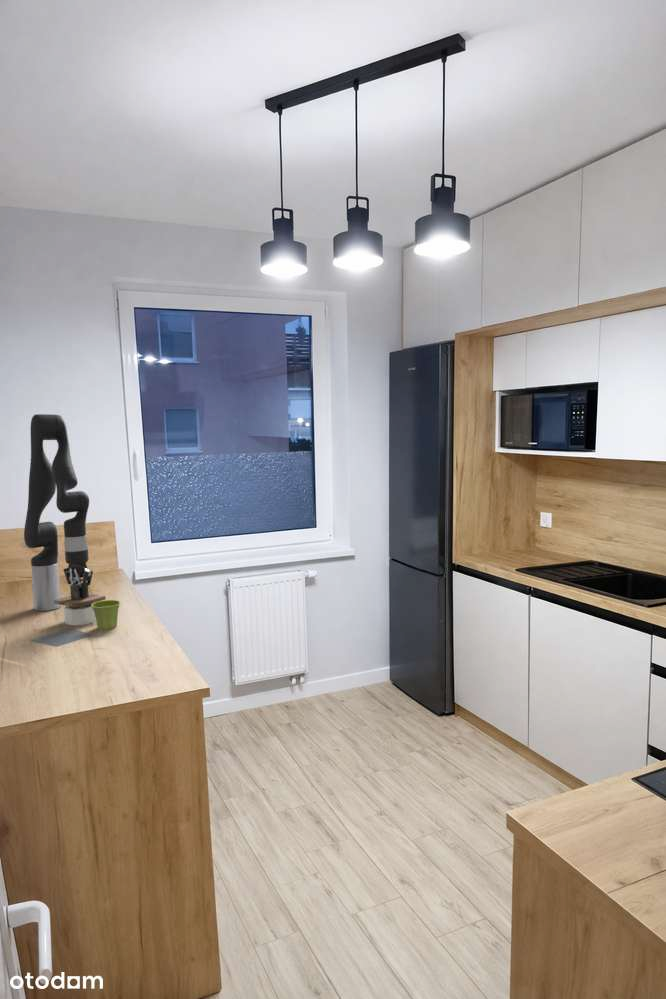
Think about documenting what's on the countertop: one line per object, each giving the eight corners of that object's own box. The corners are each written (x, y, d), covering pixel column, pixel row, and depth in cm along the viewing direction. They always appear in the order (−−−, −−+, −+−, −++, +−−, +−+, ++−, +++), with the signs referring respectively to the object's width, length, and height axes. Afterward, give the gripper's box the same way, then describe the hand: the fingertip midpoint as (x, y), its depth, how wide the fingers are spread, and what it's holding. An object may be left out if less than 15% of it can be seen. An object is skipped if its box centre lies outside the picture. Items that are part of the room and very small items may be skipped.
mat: (30, 641, 209) (30, 640, 209) (68, 629, 221) (68, 628, 221) (56, 648, 202) (56, 646, 202) (95, 635, 213) (94, 634, 213)
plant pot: (128, 625, 224) (126, 601, 223) (107, 633, 215) (106, 608, 214) (107, 623, 227) (105, 599, 227) (86, 631, 219) (84, 605, 218)
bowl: (60, 624, 228) (59, 607, 228) (85, 616, 237) (83, 600, 236) (78, 627, 223) (76, 610, 222) (102, 620, 231) (101, 603, 231)
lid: (54, 603, 227) (53, 586, 227) (84, 595, 237) (83, 579, 237) (76, 607, 221) (74, 589, 220) (105, 599, 231) (104, 582, 230)
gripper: (98, 548, 226) (101, 597, 228) (73, 545, 234) (76, 592, 236) (79, 552, 220) (83, 602, 222) (54, 549, 228) (58, 597, 230)
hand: (79, 596), depth 229 cm, fingers closed on lid, 3 cm apart
